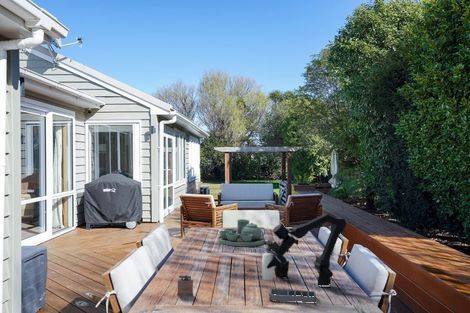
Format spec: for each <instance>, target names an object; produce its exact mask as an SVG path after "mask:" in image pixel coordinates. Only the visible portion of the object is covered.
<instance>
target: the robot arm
mask: <svg viewBox="0 0 470 313" xmlns="http://www.w3.org/2000/svg"><path fill="white" fill-rule="evenodd" d="M325 223H330V232H329V235H328V237H327V241H326V243H325V245H324V247H323V250H322V253H321V255H320V256H316V258H315V261H314V262H313V263H314V265H313V266H314V269H315V270H316V271H317V273H318V276H317V286H319V285H329V284H331V281H332V280H331V279H332V277H333V275H334V273H333V272H332V270H331V269H330V266H331V262H330V260H331V257H332V254H333V251H334V249H335V246H336V244H337V242H338V239H339V236H340V234H342V232H343V231H344V230H345V228H346V227H347V221H346V220H345V219H344V218H341V217H338V216H331V215H330V214H327V213H323V214H322V215H320V216H318V217H316V218H314V219H312V220H309V221H307V222H306V223H304V224H298V225H294V226H292V227H291V228H287V227H286V226H285V225H284V224H283V223H281V222H280V224H278V225H276V226H274V227H273V230H272V233H273V234H274V235H275V236H276V237H277V238H278V239H279V240H281V241H280V242H279V241H278V242H277V241H275V240H270V239H267V242H266V243H265V246H267V247H266V253H272V254H274V255H273V258H272V260H271V262H270V263H269V264H268V266H267V268H268V269H269V268H271V267H274V266H276V265H279V264H282V263H283V264H285V263H286V262H287V259H288V258H286V257H285V256H284V255H285V254H286V253H289V252H290V249H291V248H292V247H293V245H294V244H295V245H296V246H299V239H302V238H304V237H305V236H306V235H307V234H308V233H309V232H310V231H312V230H313V229H316V228H318V227H319V226H322V225H323V224H325ZM281 262H282V263H281ZM331 285H332V284H331Z"/></svg>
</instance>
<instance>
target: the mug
mask: <svg viewBox="0 0 470 313" xmlns="http://www.w3.org/2000/svg"><path fill="white" fill-rule="evenodd" d="M286 259H287V262H286V263H285V264H283V263H282V262H281V263H282V264H279V265H276V266H274V269H273V271H274V275H275V277H277V278H278V277H280V278H279V279H283V278H282V277H286V278H287V277H288V275H289V268H290V259H288V258H286Z"/></svg>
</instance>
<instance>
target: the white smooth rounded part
mask: <svg viewBox="0 0 470 313" xmlns="http://www.w3.org/2000/svg"><path fill="white" fill-rule="evenodd" d="M273 255H274V254H272V253H267V252H265V253H262V263H261V265H262V266H261V268H262V269H261V279H262V280H263V281H272V280H274V267H271V268H269V269H268V268H267V266H268V264H269V263H270V262H271V260H272V258H273Z"/></svg>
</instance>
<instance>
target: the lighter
mask: <svg viewBox="0 0 470 313" xmlns="http://www.w3.org/2000/svg"><path fill="white" fill-rule="evenodd" d="M178 278H179V279H177V281H176V282H177V293H176V296H178V295H179V296H180V297H192V296H194V285H193V284H194V279H192V275H188V274H185V275H184V274H179V275H178ZM191 295H192V296H191Z"/></svg>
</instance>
